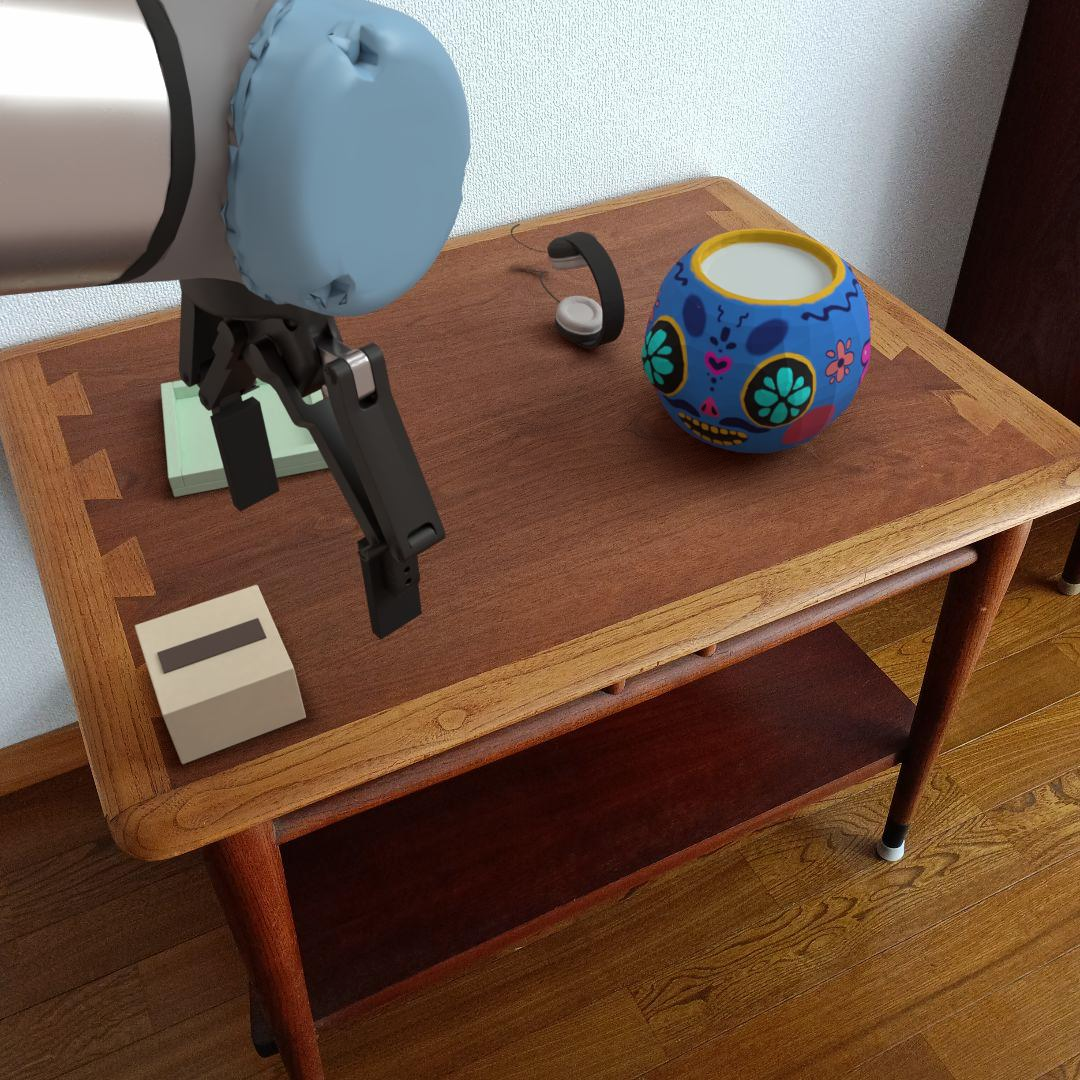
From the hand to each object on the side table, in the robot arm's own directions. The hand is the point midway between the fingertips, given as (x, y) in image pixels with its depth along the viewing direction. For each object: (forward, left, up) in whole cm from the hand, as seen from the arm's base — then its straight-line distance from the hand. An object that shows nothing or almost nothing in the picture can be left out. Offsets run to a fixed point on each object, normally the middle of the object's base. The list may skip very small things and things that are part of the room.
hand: (322, 557), depth 62 cm
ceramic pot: (+42, 0, -14) cm, 44 cm away
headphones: (+44, +23, -14) cm, 51 cm away
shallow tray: (+13, +29, -14) cm, 35 cm away
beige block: (-5, +7, -14) cm, 16 cm away
